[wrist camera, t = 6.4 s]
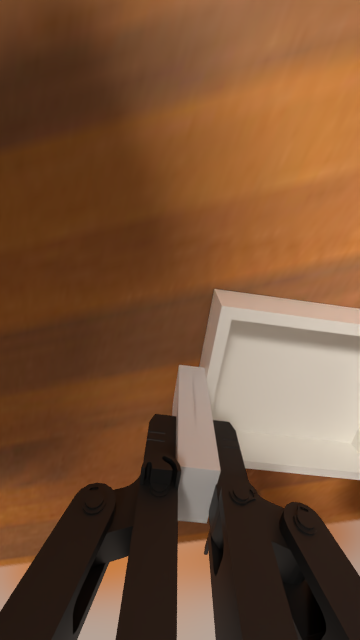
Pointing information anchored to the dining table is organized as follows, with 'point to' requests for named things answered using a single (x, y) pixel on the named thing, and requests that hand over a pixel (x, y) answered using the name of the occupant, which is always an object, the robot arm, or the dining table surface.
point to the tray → (286, 381)
